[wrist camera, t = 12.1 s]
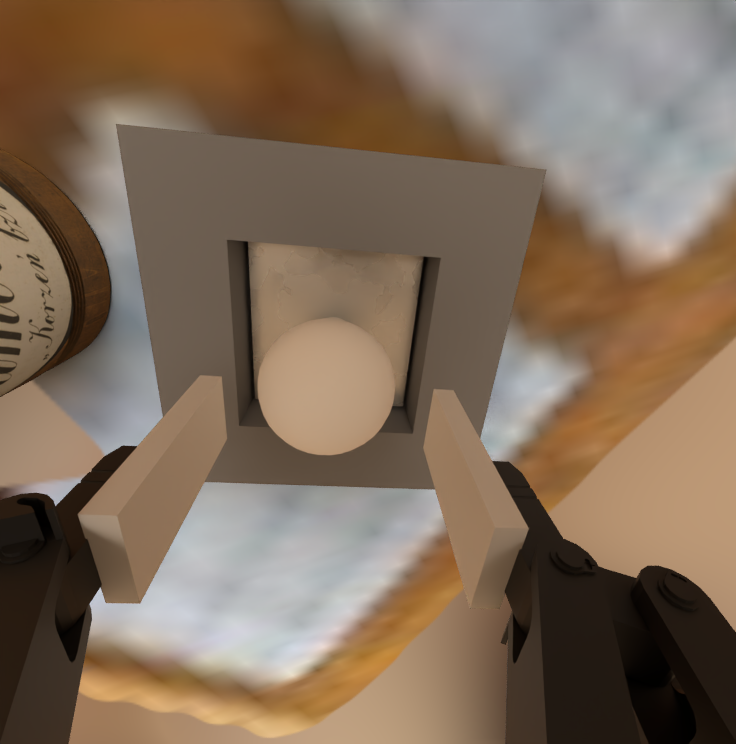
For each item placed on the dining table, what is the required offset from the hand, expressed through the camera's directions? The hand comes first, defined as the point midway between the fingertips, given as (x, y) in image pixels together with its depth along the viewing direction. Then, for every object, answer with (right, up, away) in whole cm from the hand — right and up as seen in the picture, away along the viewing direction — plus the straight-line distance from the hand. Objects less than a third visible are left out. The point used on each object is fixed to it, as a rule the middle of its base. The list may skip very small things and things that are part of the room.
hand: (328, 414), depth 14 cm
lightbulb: (-1, +4, +10) cm, 11 cm away
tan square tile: (-1, +5, +13) cm, 14 cm away
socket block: (-1, +6, +14) cm, 15 cm away
